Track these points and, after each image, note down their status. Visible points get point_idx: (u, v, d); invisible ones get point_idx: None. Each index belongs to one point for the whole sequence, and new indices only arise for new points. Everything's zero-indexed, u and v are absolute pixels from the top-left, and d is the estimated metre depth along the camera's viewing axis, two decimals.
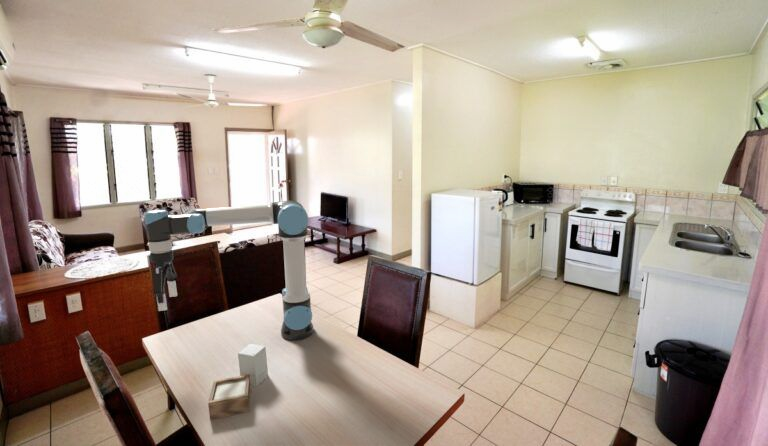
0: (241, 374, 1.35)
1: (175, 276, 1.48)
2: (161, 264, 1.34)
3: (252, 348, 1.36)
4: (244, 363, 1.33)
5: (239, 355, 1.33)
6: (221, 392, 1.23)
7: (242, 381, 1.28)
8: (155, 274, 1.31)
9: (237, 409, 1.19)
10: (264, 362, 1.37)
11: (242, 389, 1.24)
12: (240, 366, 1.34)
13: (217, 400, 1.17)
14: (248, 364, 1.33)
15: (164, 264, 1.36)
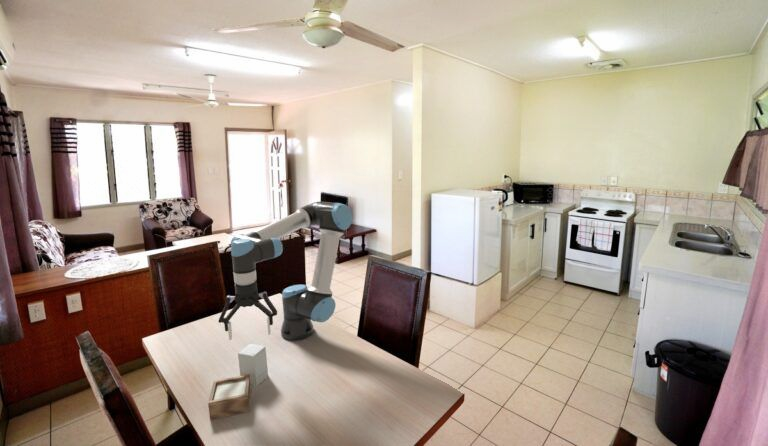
0: (241, 374, 1.35)
1: (273, 314, 1.34)
2: (235, 294, 1.29)
3: (252, 348, 1.36)
4: (244, 363, 1.33)
5: (239, 355, 1.33)
6: (221, 392, 1.23)
7: (242, 381, 1.28)
8: None
9: (237, 409, 1.19)
10: (264, 362, 1.37)
11: (242, 389, 1.24)
12: (240, 366, 1.34)
13: (217, 400, 1.17)
14: (248, 364, 1.33)
15: (240, 296, 1.29)
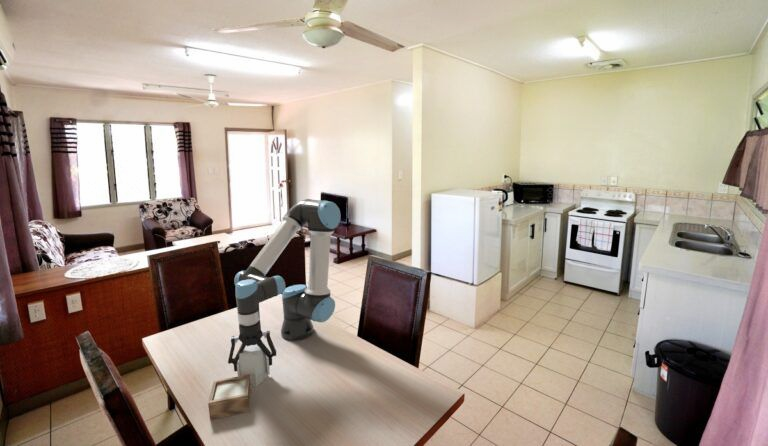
0: (241, 374, 1.35)
1: (273, 354, 1.37)
2: None
3: (252, 348, 1.36)
4: (244, 363, 1.33)
5: (239, 355, 1.33)
6: (221, 392, 1.23)
7: (242, 381, 1.28)
8: None
9: (237, 409, 1.19)
10: (264, 362, 1.37)
11: (242, 389, 1.24)
12: (240, 366, 1.34)
13: (217, 400, 1.17)
14: (248, 364, 1.33)
15: (244, 335, 1.32)
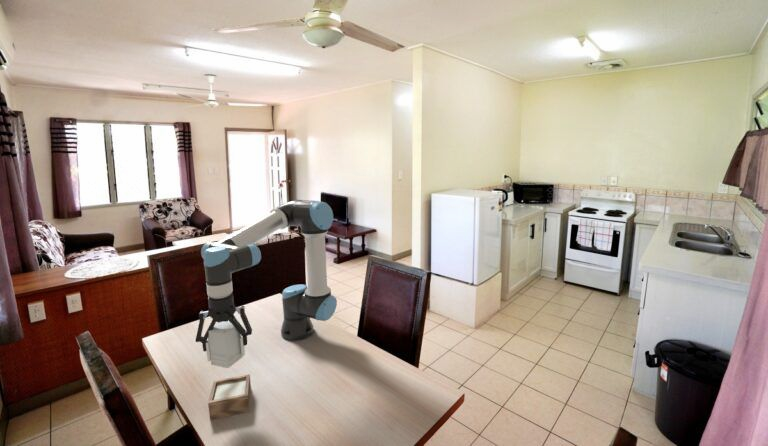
0: (211, 354, 1.18)
1: (247, 333, 1.21)
2: None
3: (224, 325, 1.20)
4: (214, 342, 1.17)
5: None
6: (221, 392, 1.23)
7: (242, 381, 1.28)
8: None
9: (237, 409, 1.19)
10: (238, 341, 1.21)
11: (242, 389, 1.24)
12: (210, 345, 1.18)
13: (217, 400, 1.17)
14: (219, 343, 1.16)
15: (214, 310, 1.16)
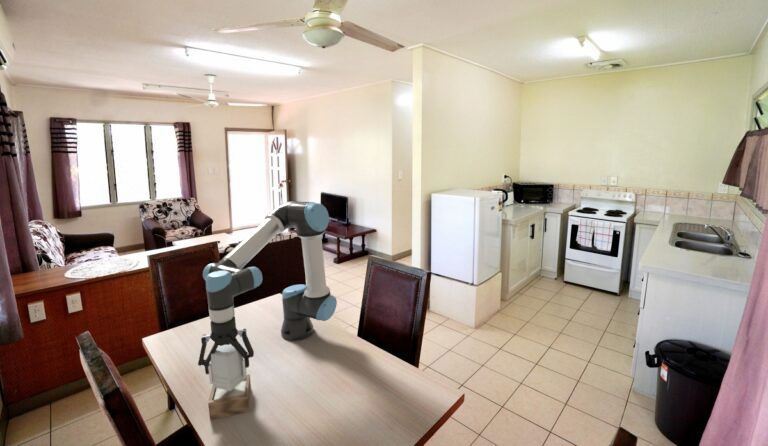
0: (213, 377, 1.20)
1: (249, 355, 1.22)
2: None
3: (226, 348, 1.21)
4: (216, 365, 1.18)
5: (211, 356, 1.18)
6: (221, 392, 1.23)
7: (242, 381, 1.28)
8: None
9: (237, 409, 1.19)
10: (240, 364, 1.22)
11: (242, 389, 1.24)
12: (212, 368, 1.19)
13: (217, 400, 1.17)
14: (221, 366, 1.18)
15: (216, 333, 1.18)
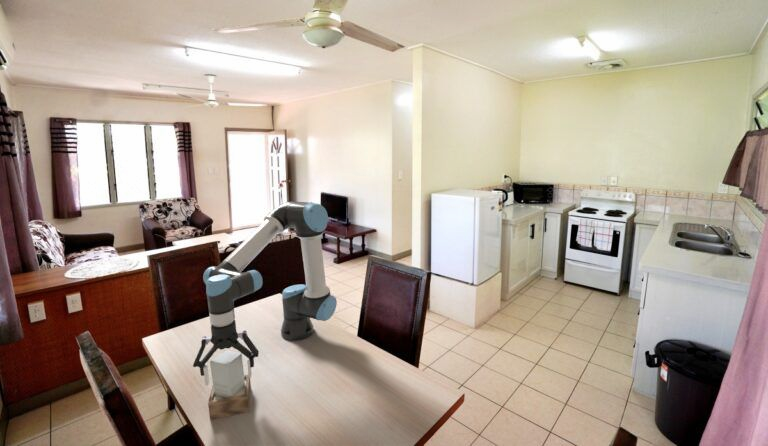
0: (214, 385, 1.20)
1: (254, 355, 1.23)
2: None
3: (226, 355, 1.22)
4: (216, 373, 1.19)
5: (211, 364, 1.19)
6: None
7: None
8: None
9: (237, 409, 1.19)
10: (240, 371, 1.23)
11: (242, 389, 1.24)
12: (213, 376, 1.20)
13: (217, 400, 1.17)
14: (222, 374, 1.18)
15: (217, 337, 1.18)
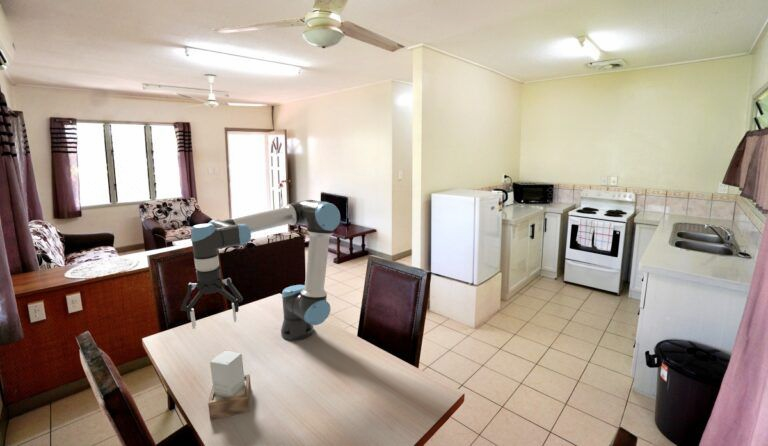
0: (214, 385, 1.20)
1: (239, 300, 1.31)
2: (197, 281, 1.25)
3: (226, 355, 1.22)
4: (216, 373, 1.19)
5: (211, 364, 1.19)
6: None
7: None
8: None
9: (237, 409, 1.19)
10: (240, 371, 1.23)
11: (242, 389, 1.24)
12: (213, 376, 1.20)
13: (217, 400, 1.17)
14: (222, 374, 1.18)
15: (202, 283, 1.25)
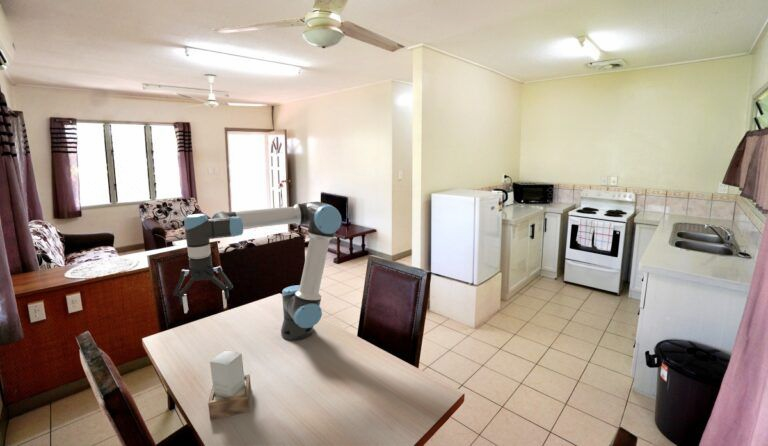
0: (214, 385, 1.20)
1: (229, 288, 1.37)
2: None
3: (226, 355, 1.22)
4: (216, 373, 1.19)
5: (211, 364, 1.19)
6: None
7: None
8: None
9: (237, 409, 1.19)
10: (240, 371, 1.23)
11: (242, 389, 1.24)
12: (213, 376, 1.20)
13: (217, 400, 1.17)
14: (222, 374, 1.18)
15: (194, 270, 1.33)
